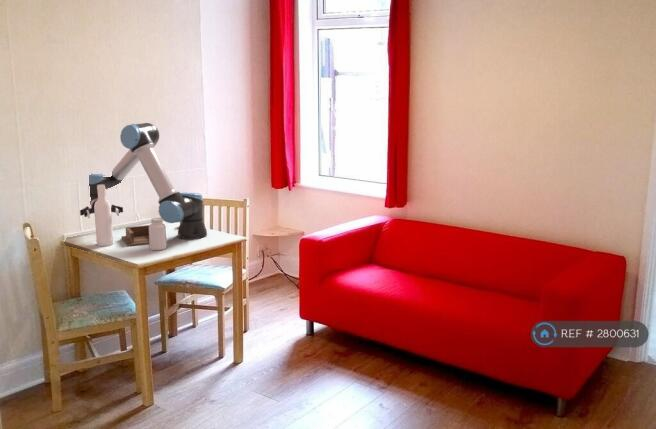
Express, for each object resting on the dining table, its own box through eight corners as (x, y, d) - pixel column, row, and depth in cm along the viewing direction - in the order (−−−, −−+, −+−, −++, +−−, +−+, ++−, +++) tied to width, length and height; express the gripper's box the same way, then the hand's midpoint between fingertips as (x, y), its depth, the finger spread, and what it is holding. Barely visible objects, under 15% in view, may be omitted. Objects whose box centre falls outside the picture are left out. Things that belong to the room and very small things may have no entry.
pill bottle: (169, 247, 299) (168, 217, 296) (161, 251, 292) (160, 220, 288) (154, 245, 301) (153, 216, 298) (146, 250, 293) (144, 219, 290)
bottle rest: (164, 242, 307) (164, 230, 306) (127, 246, 299) (127, 234, 298) (156, 234, 323) (156, 223, 322) (121, 238, 315) (120, 226, 313)
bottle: (116, 242, 306) (112, 183, 300) (109, 246, 298) (105, 186, 292) (101, 242, 307) (96, 183, 300) (93, 246, 299) (89, 186, 293)
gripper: (124, 211, 321) (130, 219, 303) (73, 215, 311) (76, 224, 292) (123, 197, 320) (129, 204, 301) (72, 200, 309) (75, 208, 290)
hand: (103, 214), depth 296 cm, fingers open, 13 cm apart
